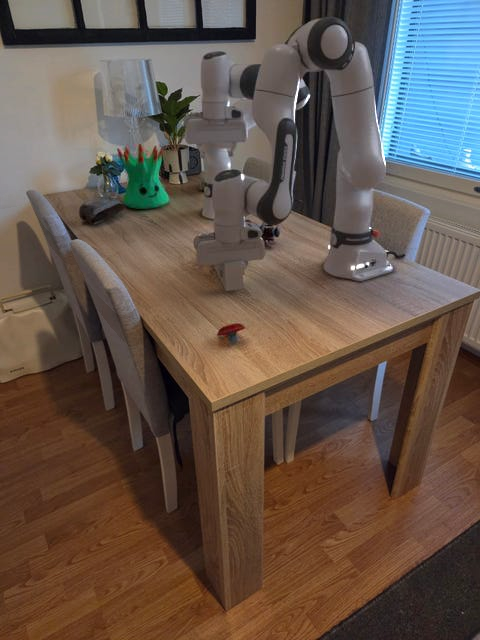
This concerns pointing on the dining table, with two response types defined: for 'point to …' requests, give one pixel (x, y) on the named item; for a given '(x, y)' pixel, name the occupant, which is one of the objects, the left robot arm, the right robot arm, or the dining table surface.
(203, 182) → the artifact
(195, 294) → the dining table surface
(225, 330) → the red mushroom
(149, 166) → the toy
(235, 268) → the bar
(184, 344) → the dining table surface
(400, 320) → the dining table surface
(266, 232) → the toy
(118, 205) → the rock
